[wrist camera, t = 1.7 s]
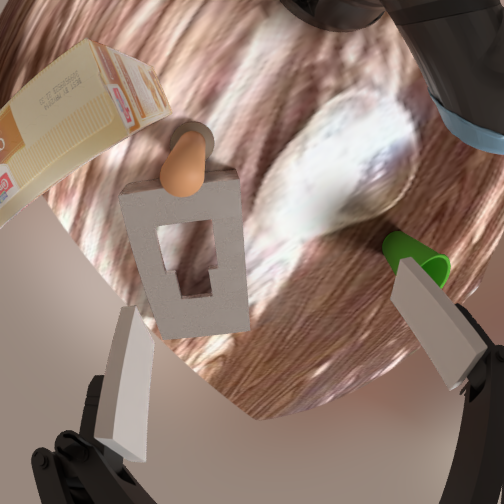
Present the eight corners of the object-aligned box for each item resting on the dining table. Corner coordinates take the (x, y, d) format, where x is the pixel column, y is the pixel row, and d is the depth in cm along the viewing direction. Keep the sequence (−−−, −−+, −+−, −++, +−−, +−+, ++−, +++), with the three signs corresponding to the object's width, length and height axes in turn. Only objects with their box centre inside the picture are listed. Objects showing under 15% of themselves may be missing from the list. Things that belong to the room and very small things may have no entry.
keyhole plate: (127, 183, 33) (118, 195, 29) (235, 169, 34) (239, 179, 31) (165, 320, 46) (162, 339, 42) (246, 311, 47) (250, 330, 43)
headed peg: (168, 124, 30) (141, 146, 17) (212, 119, 31) (215, 136, 18) (173, 165, 33) (153, 214, 20) (215, 160, 33) (221, 205, 21)
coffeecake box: (152, 64, 26) (88, 32, 9) (174, 114, 29) (133, 137, 13) (54, 125, 27) (-50, 170, 10) (75, 169, 30) (-13, 244, 14)
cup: (412, 255, 47) (446, 291, 37) (371, 271, 47) (403, 313, 38) (414, 213, 42) (454, 246, 33) (370, 228, 42) (408, 267, 33)
